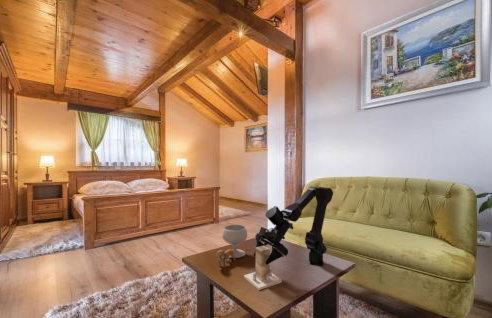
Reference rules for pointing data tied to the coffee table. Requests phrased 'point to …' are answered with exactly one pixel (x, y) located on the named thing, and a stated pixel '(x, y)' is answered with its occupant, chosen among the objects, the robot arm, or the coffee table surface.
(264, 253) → the birch post
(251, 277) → the peg stand
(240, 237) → the chalice
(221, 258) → the lion figurine
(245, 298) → the coffee table surface
